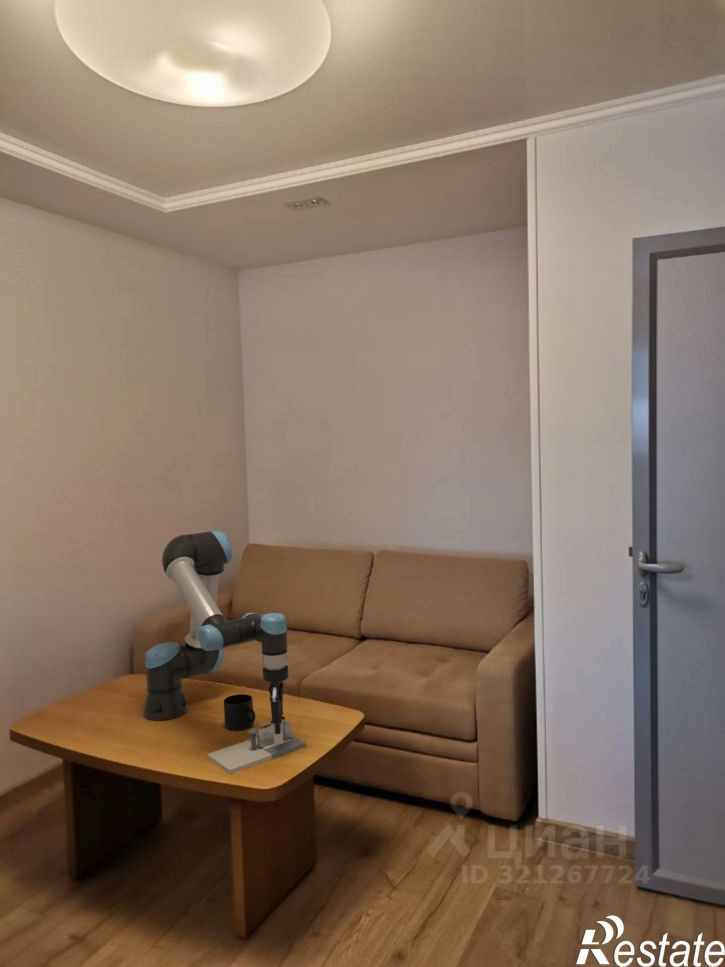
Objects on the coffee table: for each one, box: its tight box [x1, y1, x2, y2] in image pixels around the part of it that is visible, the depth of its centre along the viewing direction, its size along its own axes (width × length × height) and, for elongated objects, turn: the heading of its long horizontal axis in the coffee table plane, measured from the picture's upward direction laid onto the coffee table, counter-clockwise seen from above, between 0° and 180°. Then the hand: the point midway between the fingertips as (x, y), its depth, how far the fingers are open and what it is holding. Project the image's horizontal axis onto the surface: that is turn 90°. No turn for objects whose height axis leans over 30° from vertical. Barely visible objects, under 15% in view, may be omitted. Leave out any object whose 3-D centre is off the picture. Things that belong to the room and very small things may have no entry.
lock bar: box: [256, 720, 293, 747], centre depth 225 cm, size 11×4×4 cm, turn 131°
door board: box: [206, 727, 306, 775], centre depth 221 cm, size 14×26×7 cm, turn 129°
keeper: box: [259, 721, 273, 730], centre depth 227 cm, size 2×3×5 cm
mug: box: [223, 693, 256, 732], centre depth 241 cm, size 9×12×9 cm
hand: (278, 742), depth 220 cm, fingers closed
